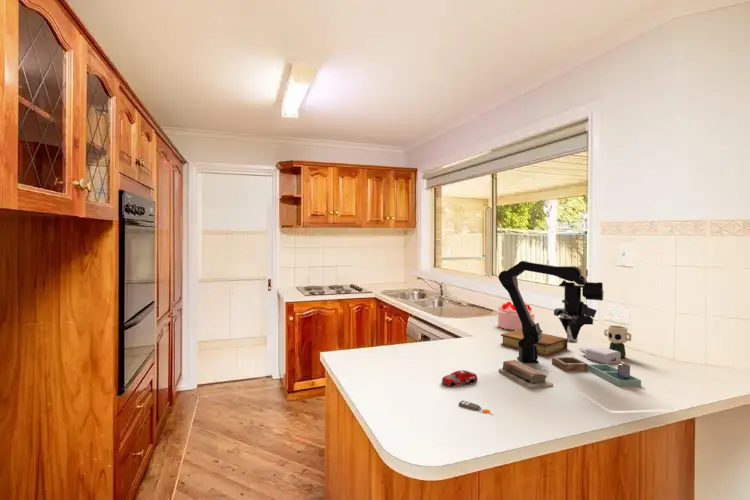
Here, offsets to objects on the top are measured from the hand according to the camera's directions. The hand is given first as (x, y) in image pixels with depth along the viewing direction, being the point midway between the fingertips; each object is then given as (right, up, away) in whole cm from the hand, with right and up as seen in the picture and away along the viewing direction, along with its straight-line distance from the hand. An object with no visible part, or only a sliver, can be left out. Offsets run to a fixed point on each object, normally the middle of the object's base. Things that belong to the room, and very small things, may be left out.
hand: (572, 337), depth 147 cm
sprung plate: (-1, -13, +1) cm, 13 cm away
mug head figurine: (+28, -12, +16) cm, 35 cm away
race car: (-48, -13, -15) cm, 52 cm away
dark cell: (+10, -12, -16) cm, 22 cm away
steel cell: (0, -2, 0) cm, 2 cm away
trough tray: (+9, -12, -10) cm, 19 cm away
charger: (+18, -12, +14) cm, 25 cm away
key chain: (-46, -13, -37) cm, 60 cm away
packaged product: (-23, -13, -11) cm, 29 cm away
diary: (-2, -12, +31) cm, 33 cm away
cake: (+5, -11, +71) cm, 72 cm away
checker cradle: (-1, -12, +1) cm, 12 cm away
